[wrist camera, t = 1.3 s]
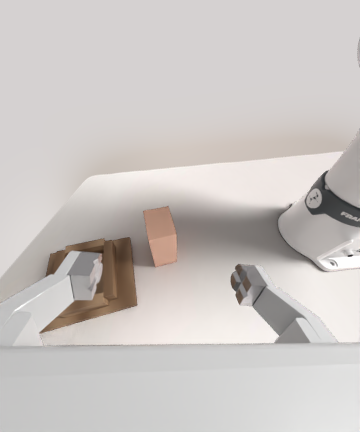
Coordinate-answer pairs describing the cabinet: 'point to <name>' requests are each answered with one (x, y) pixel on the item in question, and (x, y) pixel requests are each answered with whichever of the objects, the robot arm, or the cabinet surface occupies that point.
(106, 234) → the cabinet surface
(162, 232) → the peach rectangular block
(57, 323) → the wooden tray with base
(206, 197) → the cabinet surface
